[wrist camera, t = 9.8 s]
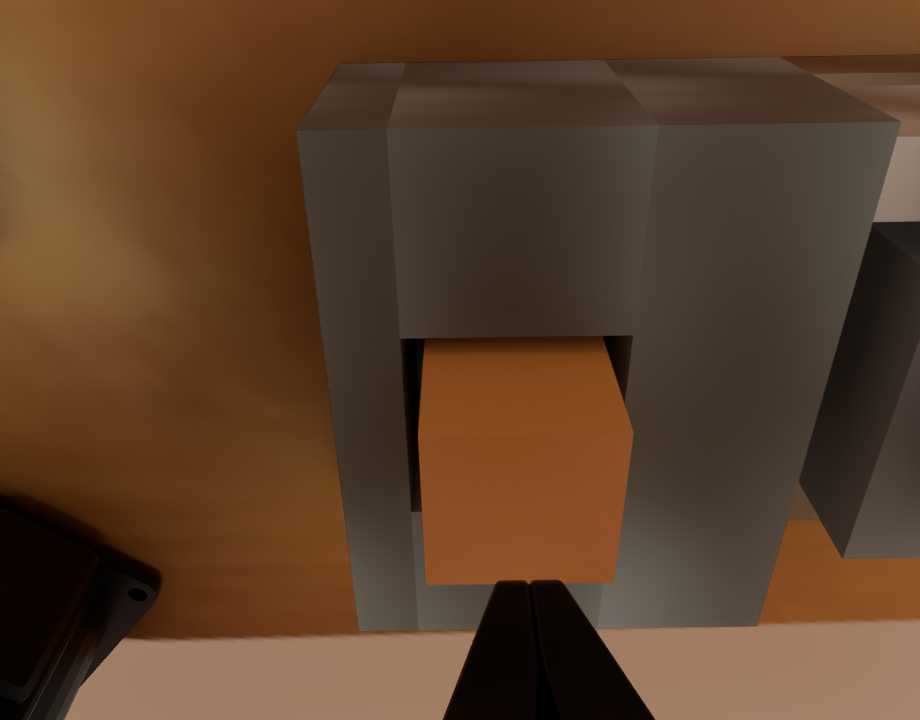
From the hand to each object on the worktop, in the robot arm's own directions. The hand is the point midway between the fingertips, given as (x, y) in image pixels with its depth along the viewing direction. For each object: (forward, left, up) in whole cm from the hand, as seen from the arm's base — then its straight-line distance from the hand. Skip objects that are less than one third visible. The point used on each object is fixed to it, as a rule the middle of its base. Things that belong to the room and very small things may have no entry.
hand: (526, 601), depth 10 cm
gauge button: (0, 0, -5) cm, 5 cm away
